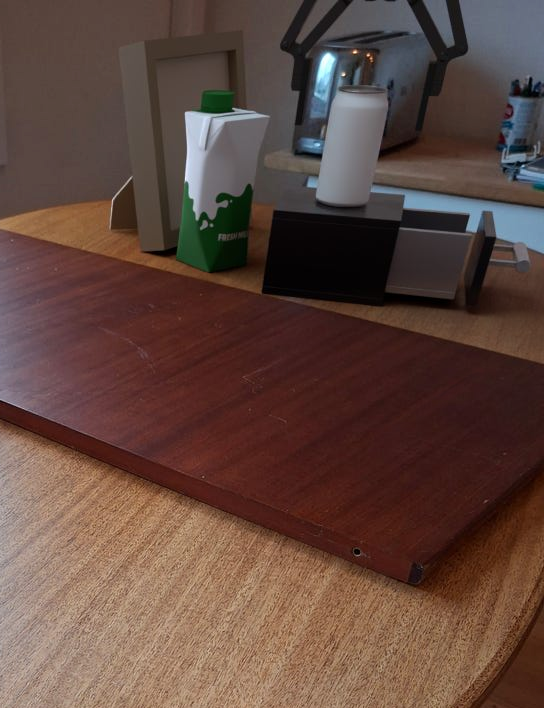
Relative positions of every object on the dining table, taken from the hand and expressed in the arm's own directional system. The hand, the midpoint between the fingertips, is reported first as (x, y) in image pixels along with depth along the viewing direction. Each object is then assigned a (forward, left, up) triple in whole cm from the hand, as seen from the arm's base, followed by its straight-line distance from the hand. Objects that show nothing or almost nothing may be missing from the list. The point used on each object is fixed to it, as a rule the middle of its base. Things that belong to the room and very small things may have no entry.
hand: (357, 126), depth 103 cm
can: (0, 0, -8) cm, 8 cm away
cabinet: (0, 0, -18) cm, 18 cm away
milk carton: (+16, -4, -18) cm, 25 cm away
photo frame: (+25, -17, -18) cm, 36 cm away
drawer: (-13, 0, -17) cm, 22 cm away
